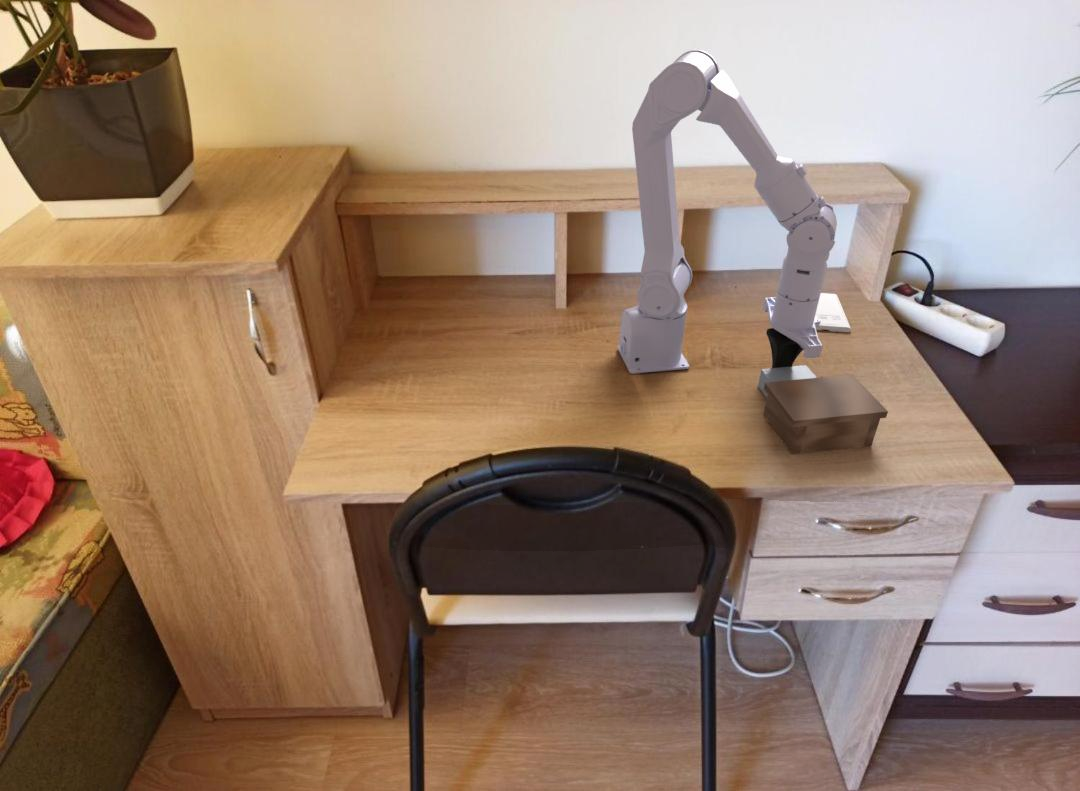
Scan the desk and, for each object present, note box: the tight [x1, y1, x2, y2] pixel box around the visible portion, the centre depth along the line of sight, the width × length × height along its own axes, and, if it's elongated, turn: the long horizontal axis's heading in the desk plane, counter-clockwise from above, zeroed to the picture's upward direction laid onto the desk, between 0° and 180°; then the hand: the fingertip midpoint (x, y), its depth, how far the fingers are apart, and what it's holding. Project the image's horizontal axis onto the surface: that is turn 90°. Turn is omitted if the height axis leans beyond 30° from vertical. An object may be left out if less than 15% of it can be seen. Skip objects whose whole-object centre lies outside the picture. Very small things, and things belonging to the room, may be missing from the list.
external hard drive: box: [815, 292, 852, 333], centre depth 132 cm, size 2×8×12 cm
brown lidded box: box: [763, 374, 889, 455], centre depth 102 cm, size 13×9×6 cm
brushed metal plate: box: [757, 364, 818, 399], centre depth 107 cm, size 7×14×3 cm, turn 10°
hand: (780, 374), depth 113 cm, fingers closed
